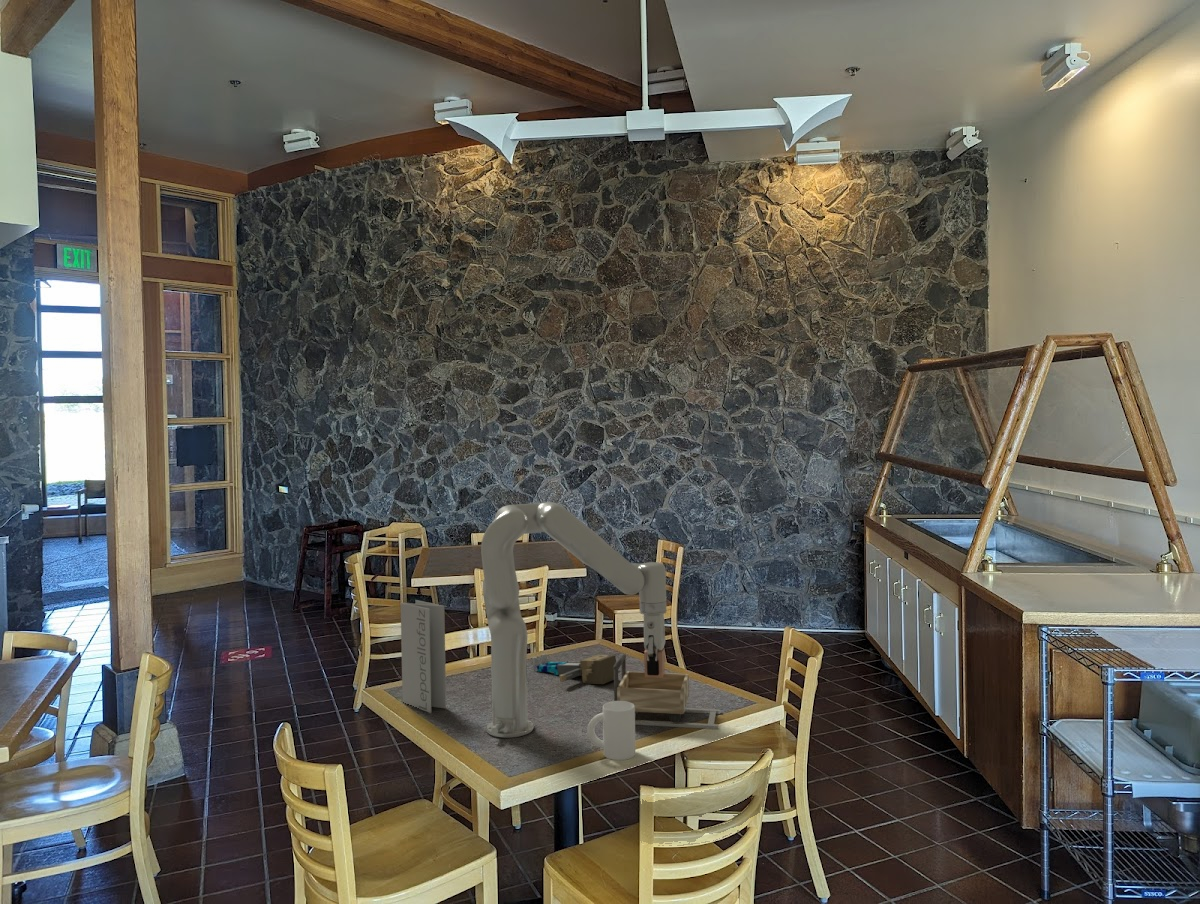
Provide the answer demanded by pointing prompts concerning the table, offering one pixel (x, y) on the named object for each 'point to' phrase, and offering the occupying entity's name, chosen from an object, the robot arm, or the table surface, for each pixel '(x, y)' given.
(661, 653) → the block
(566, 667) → the toy
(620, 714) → the mug
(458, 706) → the table surface
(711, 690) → the table surface
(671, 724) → the rails
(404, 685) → the brochure
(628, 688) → the cart
